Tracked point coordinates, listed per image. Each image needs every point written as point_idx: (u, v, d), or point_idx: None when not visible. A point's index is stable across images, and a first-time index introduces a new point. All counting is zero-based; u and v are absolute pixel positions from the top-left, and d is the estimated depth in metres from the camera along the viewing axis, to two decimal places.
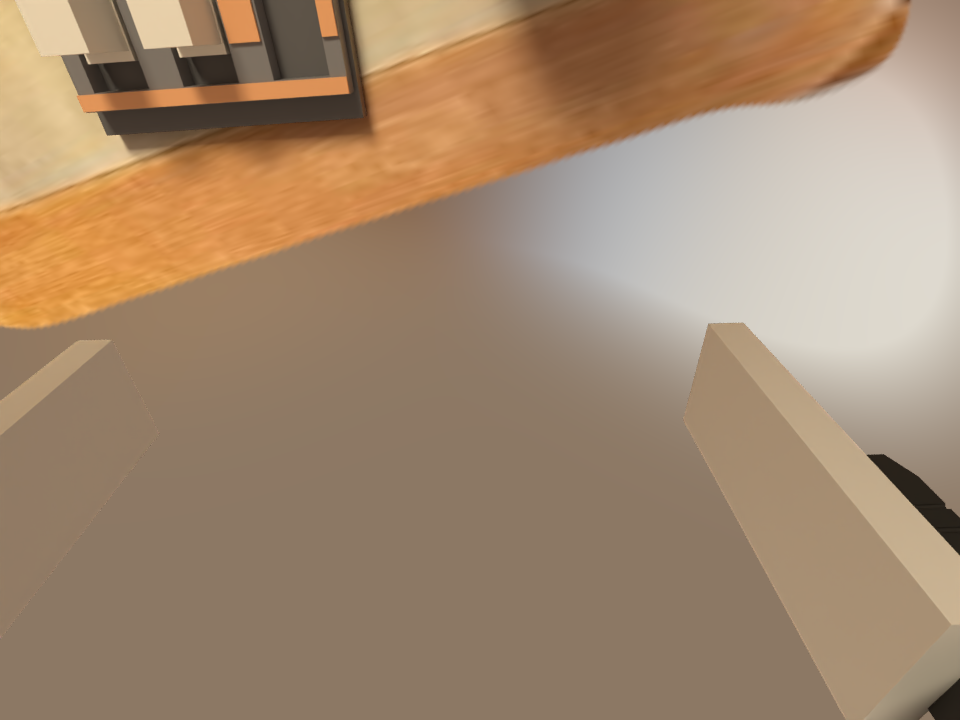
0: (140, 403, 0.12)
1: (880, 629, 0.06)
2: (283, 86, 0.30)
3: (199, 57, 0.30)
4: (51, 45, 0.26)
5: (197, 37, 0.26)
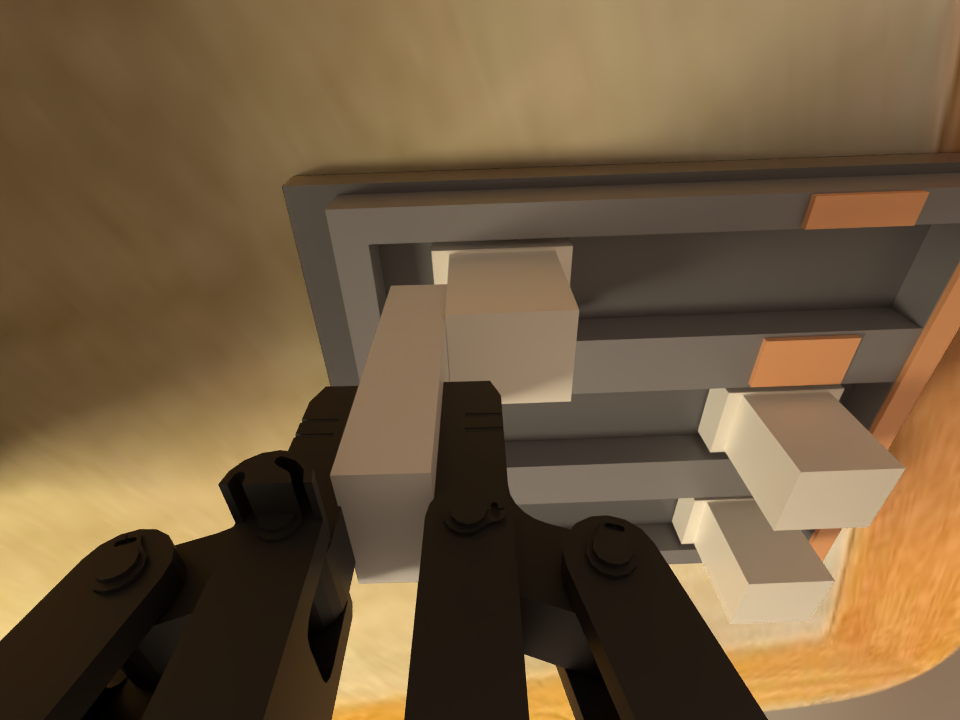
0: None
1: None
2: (945, 315, 0.15)
3: None
4: (804, 609, 0.18)
5: (874, 449, 0.15)
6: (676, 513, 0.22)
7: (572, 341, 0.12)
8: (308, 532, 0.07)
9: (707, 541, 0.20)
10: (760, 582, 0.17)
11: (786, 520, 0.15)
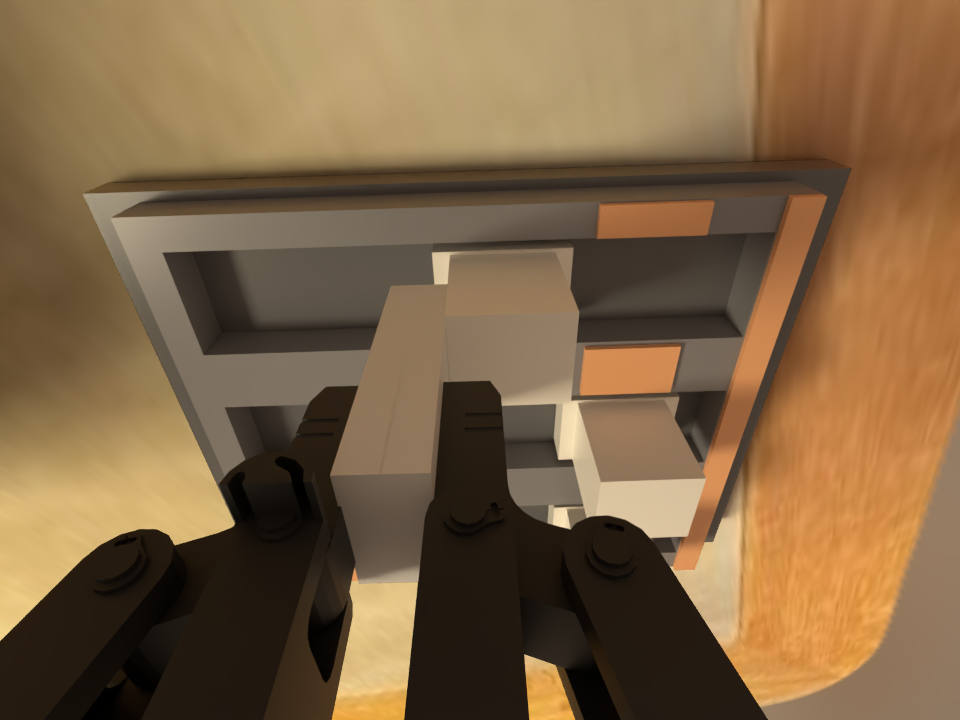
0: None
1: None
2: (760, 324, 0.15)
3: None
4: None
5: (683, 458, 0.15)
6: (548, 520, 0.22)
7: (572, 343, 0.11)
8: (308, 532, 0.07)
9: None
10: None
11: None
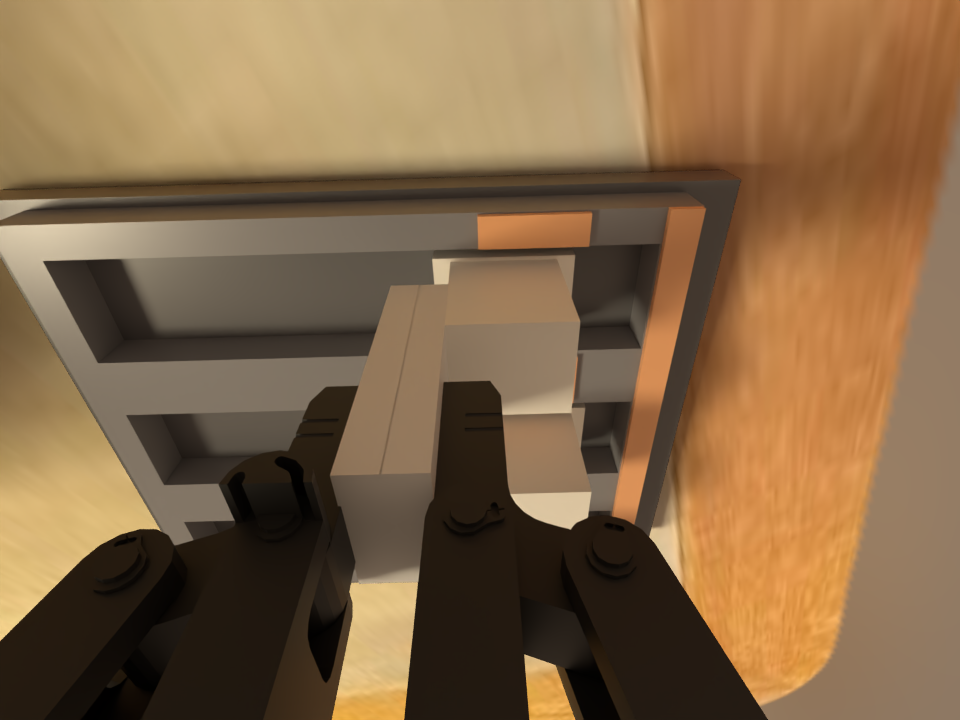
0: None
1: None
2: (656, 335, 0.15)
3: None
4: None
5: (574, 471, 0.15)
6: None
7: (573, 353, 0.11)
8: (308, 532, 0.07)
9: None
10: None
11: None
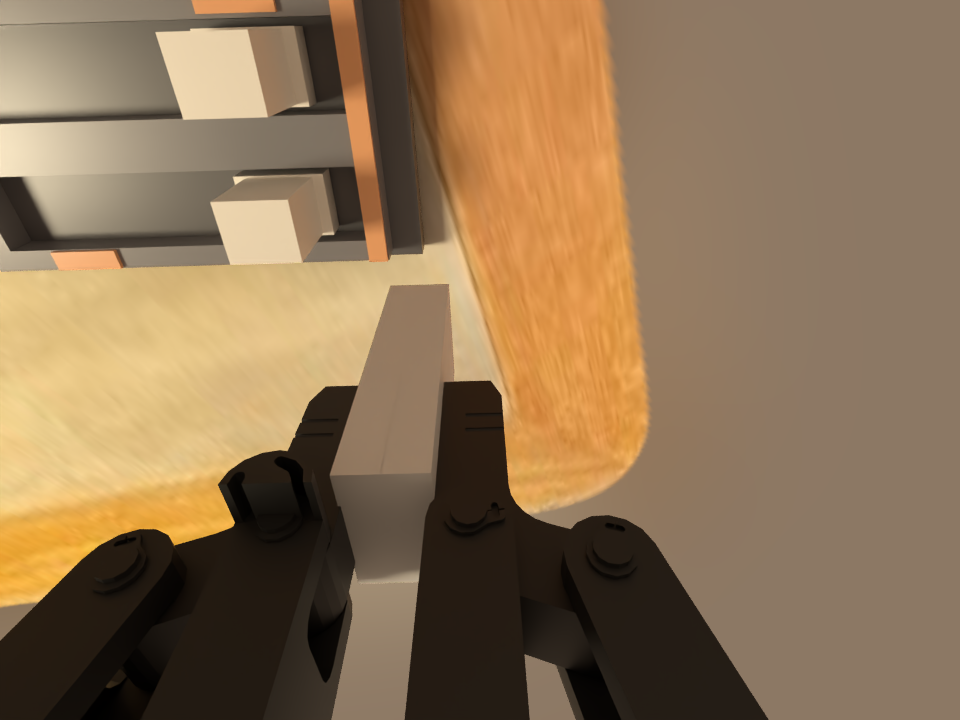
0: None
1: None
2: None
3: (316, 88, 0.21)
4: (287, 244, 0.20)
5: None
6: None
7: None
8: (308, 532, 0.07)
9: None
10: (222, 201, 0.19)
11: (185, 104, 0.17)
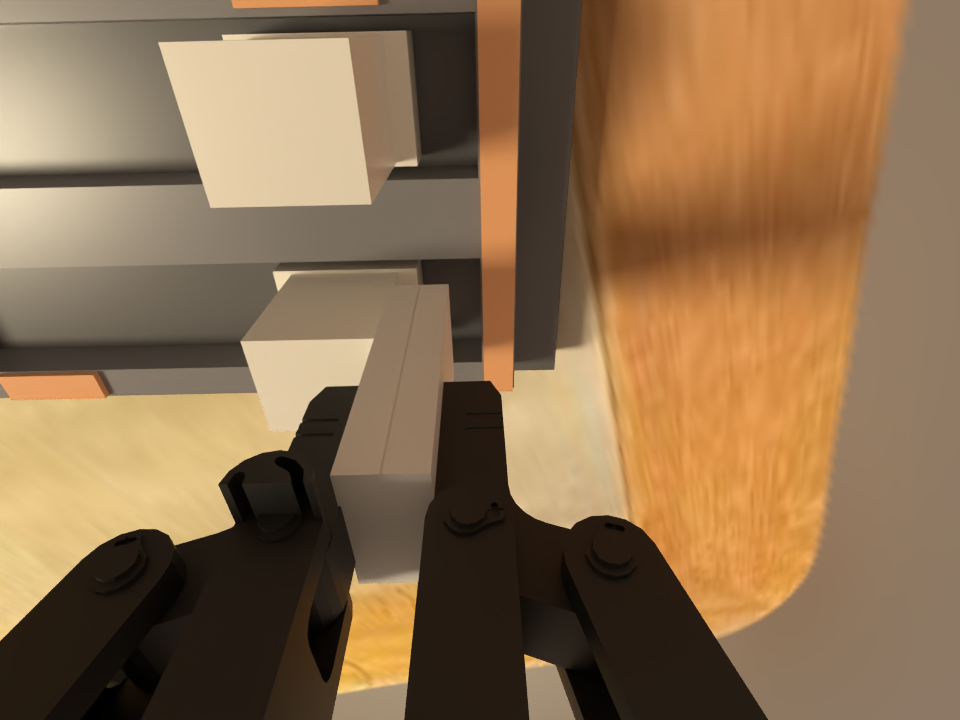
0: None
1: None
2: None
3: (423, 133, 0.13)
4: None
5: None
6: None
7: None
8: (308, 532, 0.07)
9: None
10: (261, 339, 0.11)
11: (215, 180, 0.09)
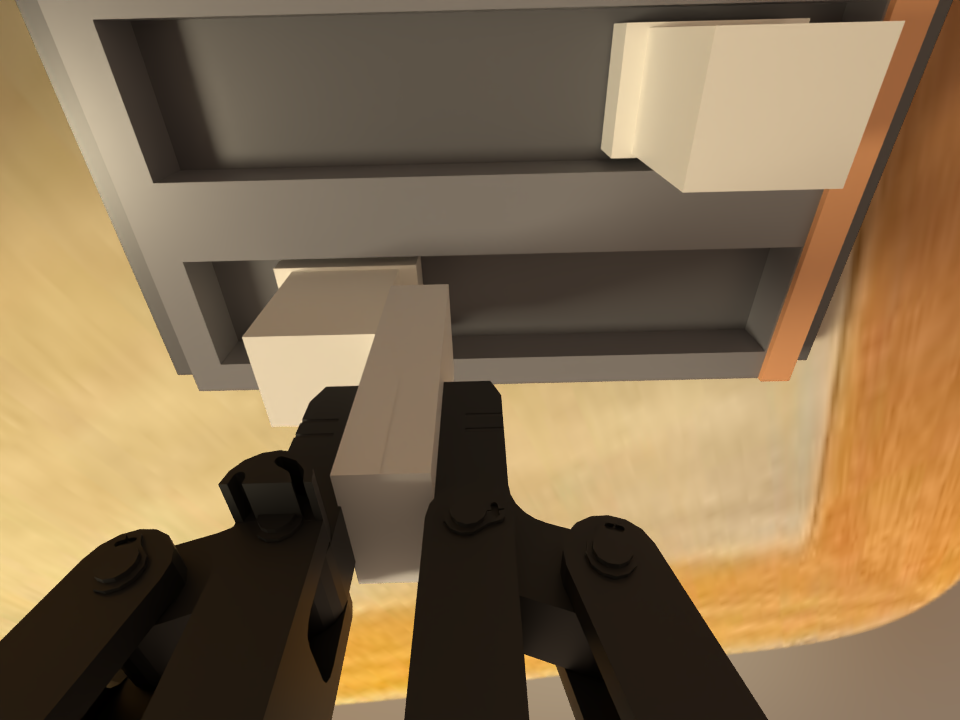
0: None
1: None
2: None
3: None
4: None
5: None
6: None
7: None
8: (308, 532, 0.07)
9: None
10: (262, 335, 0.11)
11: (701, 165, 0.09)
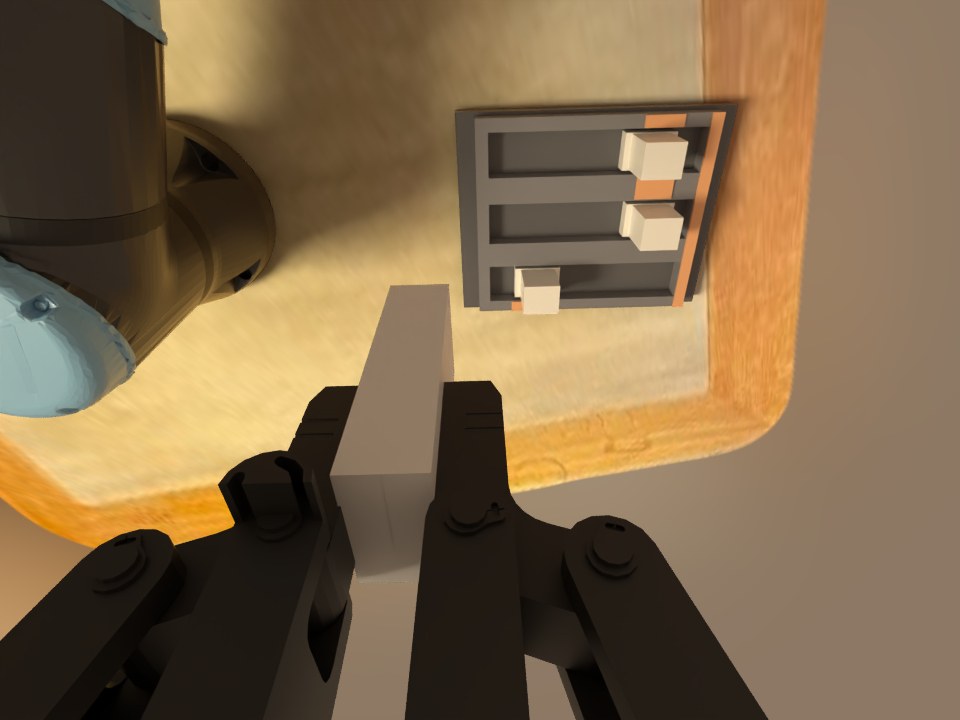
0: None
1: None
2: (706, 166, 0.40)
3: None
4: (553, 305, 0.42)
5: (675, 214, 0.39)
6: (514, 285, 0.46)
7: (684, 153, 0.36)
8: (308, 532, 0.07)
9: (521, 288, 0.45)
10: (529, 286, 0.42)
11: (644, 245, 0.40)
